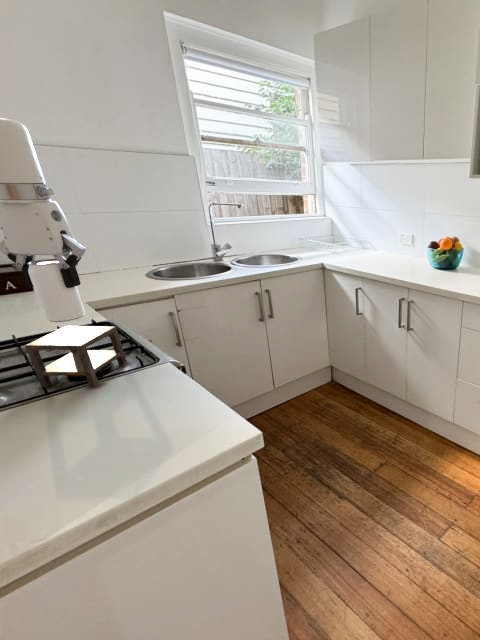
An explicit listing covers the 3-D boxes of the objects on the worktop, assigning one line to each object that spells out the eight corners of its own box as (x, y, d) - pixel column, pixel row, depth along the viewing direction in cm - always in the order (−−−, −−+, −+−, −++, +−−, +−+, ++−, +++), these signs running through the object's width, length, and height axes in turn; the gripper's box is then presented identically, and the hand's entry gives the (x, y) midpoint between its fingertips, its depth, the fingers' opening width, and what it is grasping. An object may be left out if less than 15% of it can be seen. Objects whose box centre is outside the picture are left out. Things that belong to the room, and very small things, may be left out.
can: (69, 311, 85) (50, 257, 80) (93, 313, 84) (76, 259, 79) (38, 320, 79) (15, 263, 74) (63, 324, 78) (42, 266, 73)
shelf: (41, 387, 82) (24, 345, 78) (80, 364, 92) (66, 325, 88) (95, 387, 83) (80, 345, 79) (127, 364, 93) (115, 326, 89)
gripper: (85, 194, 76) (111, 282, 83) (-8, 191, 74) (27, 280, 82) (54, 196, 69) (86, 291, 76) (-48, 193, 68) (-7, 290, 75)
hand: (55, 285), depth 79 cm, fingers closed on can, 6 cm apart
